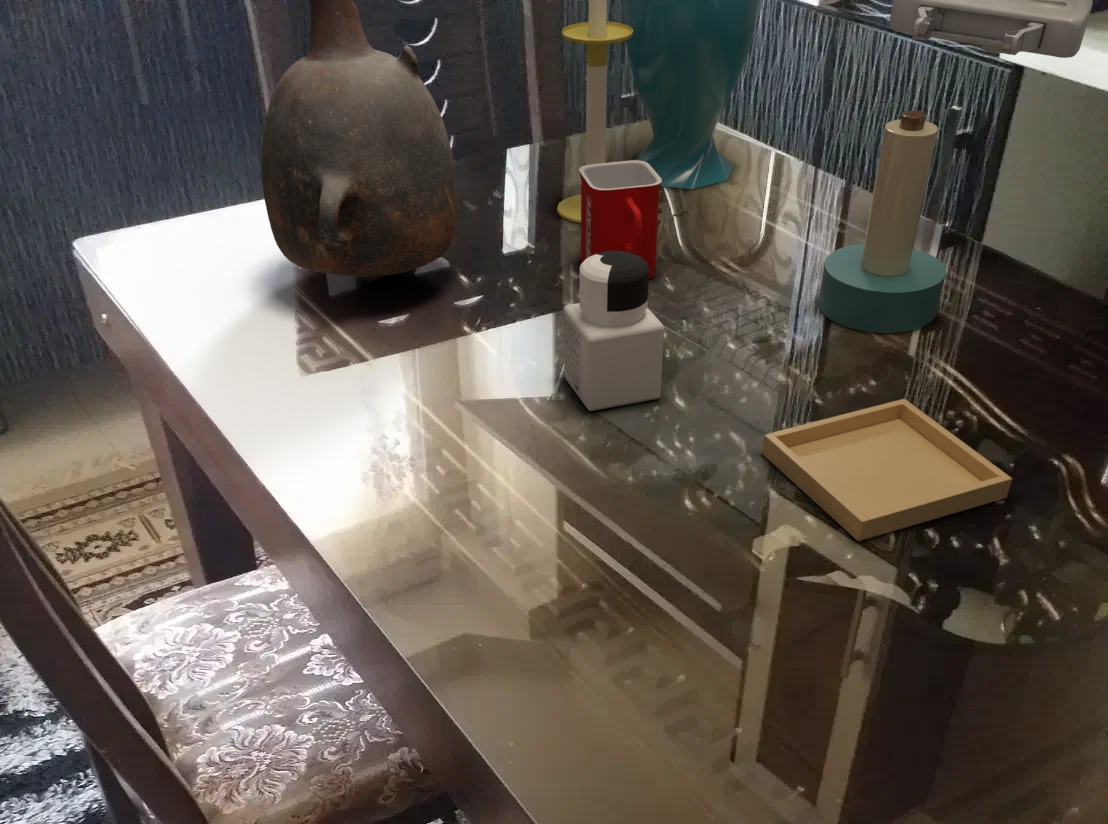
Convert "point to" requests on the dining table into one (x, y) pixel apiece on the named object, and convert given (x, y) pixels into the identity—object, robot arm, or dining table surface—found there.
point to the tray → (884, 468)
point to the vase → (687, 79)
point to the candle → (593, 87)
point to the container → (613, 334)
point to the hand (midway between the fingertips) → (963, 38)
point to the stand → (880, 293)
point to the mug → (620, 209)
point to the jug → (356, 157)
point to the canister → (898, 194)
